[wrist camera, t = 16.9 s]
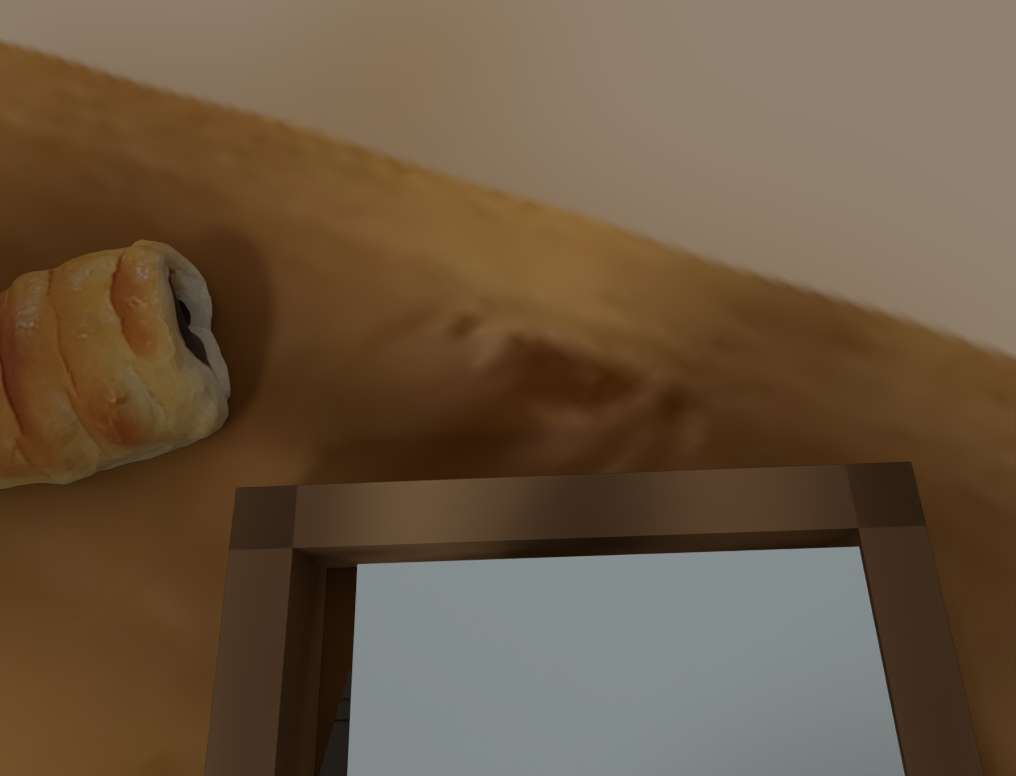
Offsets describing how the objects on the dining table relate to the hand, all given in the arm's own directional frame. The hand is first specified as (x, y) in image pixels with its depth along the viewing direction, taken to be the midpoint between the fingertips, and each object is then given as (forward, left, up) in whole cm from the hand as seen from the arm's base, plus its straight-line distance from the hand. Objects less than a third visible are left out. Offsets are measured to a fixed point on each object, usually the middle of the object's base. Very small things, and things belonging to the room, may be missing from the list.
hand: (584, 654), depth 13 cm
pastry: (-14, +8, -7) cm, 18 cm away
